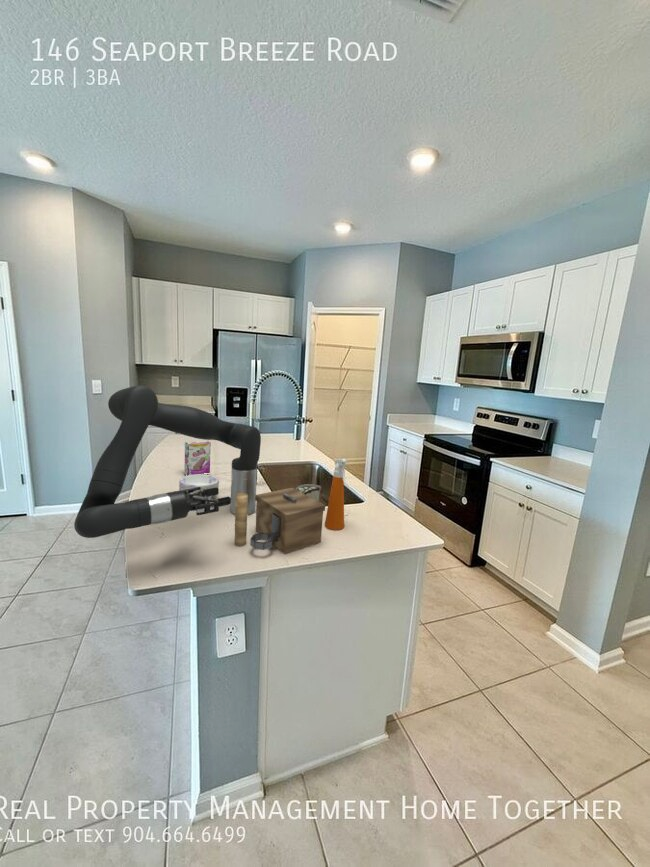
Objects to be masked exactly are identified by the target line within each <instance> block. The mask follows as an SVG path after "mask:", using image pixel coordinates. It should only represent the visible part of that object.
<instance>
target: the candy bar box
mask: <svg viewBox="0 0 650 867" xmlns="http://www.w3.org/2000/svg"><path fill="white" fill-rule="evenodd" d="M211 446H212V445H211V442H210V441H209V440H200V441H199V440H196V441H185V442H184V473H185V474H186V475H187V476H188V475H195V474H204V473H211ZM185 474H184V475H185ZM186 475H185V476H186Z"/></svg>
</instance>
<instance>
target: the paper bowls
mask: <svg viewBox="0 0 650 867" xmlns="http://www.w3.org/2000/svg"><path fill="white" fill-rule="evenodd" d="M178 482H179V483H178V484H179V486H178V487H179V488H178V491H179V490H187V489H191V488H196V487H201V489H203V488H204V489H205V490H206V489H210V488H215V487H217V488H218V489H219V488H220V479H219V478H218V477H217V476H215V475H212V474H208V475H206V474H195V475H188V476H186V475H185V476H183V477H180V479H179V481H178ZM205 497H206V496H205ZM209 497H210V498H211V499H213V496H209Z"/></svg>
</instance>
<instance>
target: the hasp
mask: <svg viewBox="0 0 650 867" xmlns="http://www.w3.org/2000/svg"><path fill="white" fill-rule="evenodd" d="M280 530H281V518H280V517H279V516H277V515H276V514H272V532H273V533H272V534H269V533H258V532H256V533H254V534H252V536H251V538H250V540H249V541H250V542H249V543H250V546H251V547H252V548H253V549H254V550H261V551H266V550H268V549H272V548H273V546H274V545H273V544H274V542H277V541H278V537H280ZM263 541H264V542H263Z"/></svg>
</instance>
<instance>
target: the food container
mask: <svg viewBox="0 0 650 867" xmlns="http://www.w3.org/2000/svg"><path fill="white" fill-rule="evenodd" d="M295 490H297V491H299V492H301V493H303V494H305V495H307V496H309V497H310V498H312V499H314V500H316V501H318V502H320V501H319V500H320V494H321V491H322V486H321V485H318V484H311V483H308V484H306V483H305V484H301V485H297V487H296V489H295Z"/></svg>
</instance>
